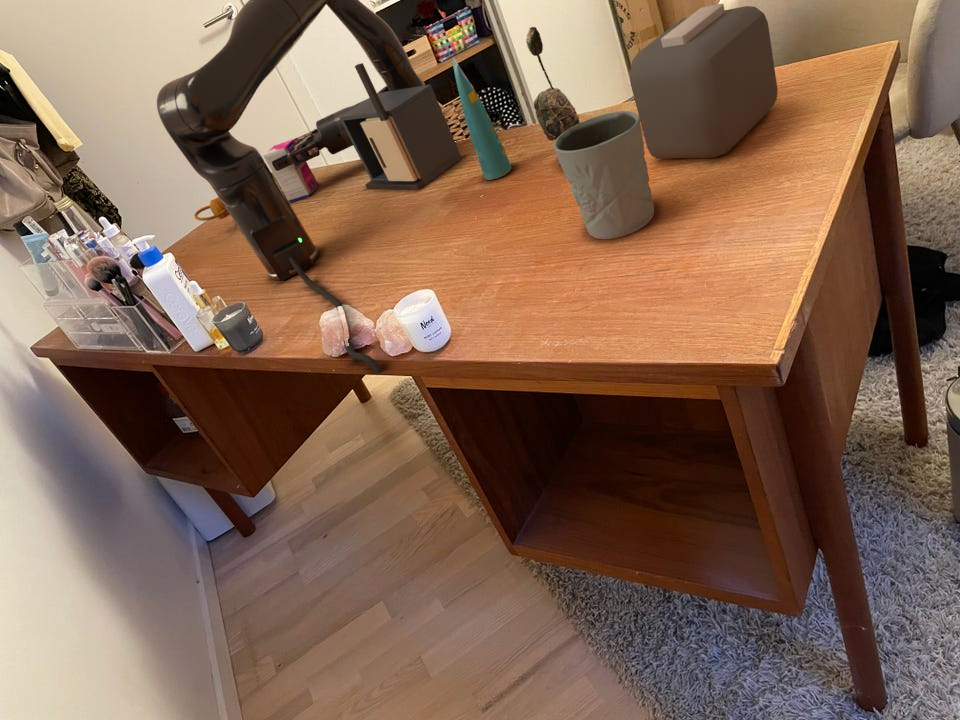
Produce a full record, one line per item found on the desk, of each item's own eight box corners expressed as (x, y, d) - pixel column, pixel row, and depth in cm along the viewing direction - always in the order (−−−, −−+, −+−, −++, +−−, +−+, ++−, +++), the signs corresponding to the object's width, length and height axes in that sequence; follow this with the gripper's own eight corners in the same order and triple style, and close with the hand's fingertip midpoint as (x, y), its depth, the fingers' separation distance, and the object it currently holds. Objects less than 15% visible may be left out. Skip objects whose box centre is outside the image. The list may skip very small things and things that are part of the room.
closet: (418, 190, 125) (383, 115, 117) (366, 188, 138) (332, 121, 130) (461, 158, 130) (430, 84, 122) (407, 159, 143) (376, 93, 135)
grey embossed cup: (567, 240, 87) (536, 153, 80) (610, 198, 92) (584, 113, 85) (635, 244, 80) (606, 148, 73) (678, 198, 84) (655, 105, 78)
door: (413, 181, 125) (358, 65, 113) (388, 181, 131) (333, 71, 120) (417, 179, 125) (362, 62, 114) (391, 179, 132) (337, 68, 120)
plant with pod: (539, 179, 106) (493, 51, 96) (571, 145, 113) (531, 21, 102) (585, 174, 101) (541, 37, 91) (615, 138, 108) (578, 6, 97)
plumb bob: (283, 188, 167) (194, 233, 153) (271, 152, 161) (178, 195, 147) (305, 195, 162) (216, 242, 148) (294, 158, 156) (200, 204, 142)
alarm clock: (713, 110, 101) (691, 1, 93) (788, 105, 93) (771, -16, 85) (652, 166, 94) (622, 54, 86) (727, 165, 86) (702, 41, 78)
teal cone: (516, 173, 112) (472, 56, 102) (490, 185, 113) (443, 71, 102) (506, 161, 119) (463, 51, 108) (480, 173, 119) (435, 64, 109)
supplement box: (310, 196, 150) (283, 148, 144) (289, 203, 152) (261, 156, 146) (320, 184, 154) (294, 137, 148) (299, 192, 156) (272, 145, 150)
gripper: (335, 105, 151) (270, 136, 152) (333, 120, 139) (262, 154, 140) (351, 137, 155) (287, 167, 156) (351, 154, 143) (281, 186, 144)
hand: (275, 161), depth 148 cm, fingers open, 8 cm apart
